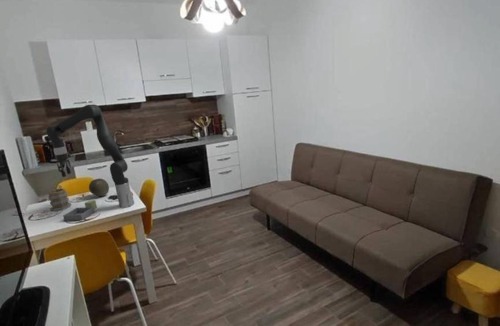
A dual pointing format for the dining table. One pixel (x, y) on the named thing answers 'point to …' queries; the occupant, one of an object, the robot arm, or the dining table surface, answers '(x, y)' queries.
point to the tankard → (59, 199)
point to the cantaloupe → (99, 187)
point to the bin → (78, 214)
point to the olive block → (91, 204)
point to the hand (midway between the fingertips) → (66, 175)
